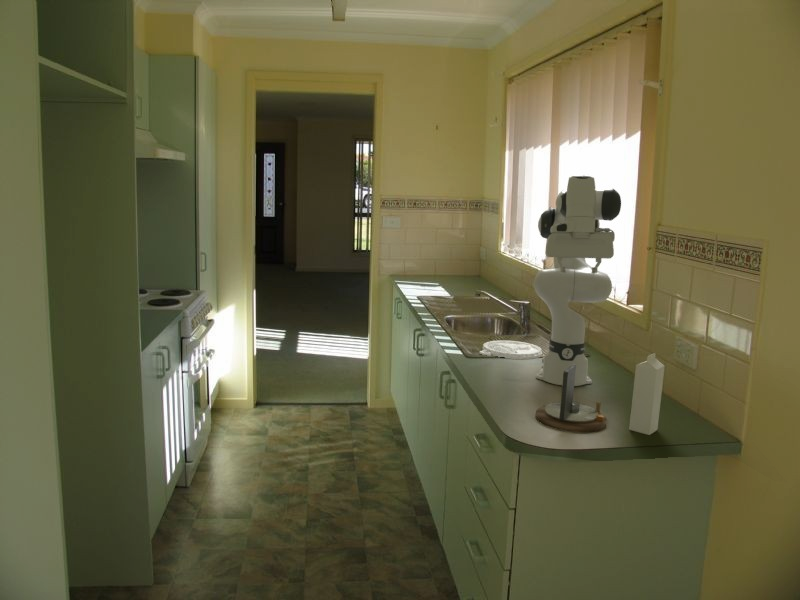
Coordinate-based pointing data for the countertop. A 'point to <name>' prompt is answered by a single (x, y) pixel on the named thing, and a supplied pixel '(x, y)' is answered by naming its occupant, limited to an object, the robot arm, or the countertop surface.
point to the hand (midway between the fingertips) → (578, 272)
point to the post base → (571, 427)
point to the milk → (647, 396)
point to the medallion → (511, 349)
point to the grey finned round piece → (571, 403)
